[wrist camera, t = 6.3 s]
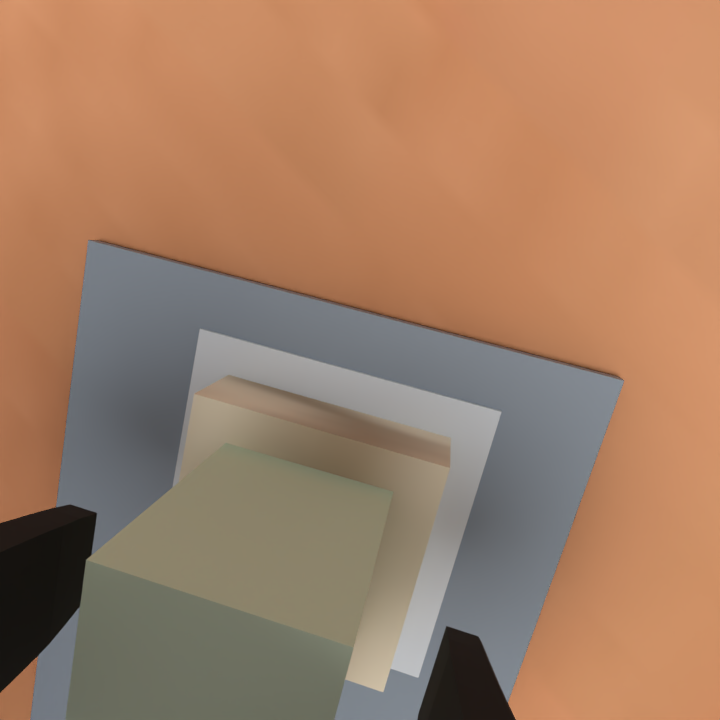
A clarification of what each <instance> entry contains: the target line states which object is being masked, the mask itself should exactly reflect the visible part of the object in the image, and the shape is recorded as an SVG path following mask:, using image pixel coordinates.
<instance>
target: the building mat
mask: <svg viewBox="0 0 720 720" xmlns="http://www.w3.org/2000/svg"><path fill="white" fill-rule="evenodd" d="M227 375H231V376H235V377H238V378H242V379H245V380H249V381H252V382H256V383H259V384H263V385H266V386H270V387H273V388H277V389H280V390H284V391H287V392H291V393H294V394H298V395H302V396H305V397H309V398H312V399H316V400H319V401H323V402H326V403H330V404H333V405H337V406H340V407H344V408H347V409H351V410H354V411H358V412H361V413H365V414H368V415H372V416H375V417H379V418H382V419H386V420H390V421H393V422H397V423H400V424H404V425H407V426H411V427H414V428H418V429H421V430H425V431H428V432H432V433H435V434H439V435H442V436H446V437H449V438H451V452H450V470H449V474H448V477H447V480H446V484H445V487H444V490H443V494H442V497H441V501H440V504H439V507H438V511H437V514H436V517H435V521H434V524H433V527H432V531H431V534H430V537H429V541H428V544H427V548H426V551H425V554H424V558H423V561H422V564H421V568H420V571H419V574H418V578H417V581H416V585H415V588H414V591H413V595H412V598H411V601H410V605H409V608H408V611H407V615H406V618H405V621H404V625H403V628H402V632H401V635H400V638H399V642H398V645H397V648H396V652H395V655H394V658H393V662H392V665H391V669H390V672H389V675H388V679H387V682H386V685H385V689H384V692H381V691H378V690H375V689H372V688H369V687H366V686H363V685H360V684H357V683H354V682H351V681H348V680H345V682H344V685H343V689H342V693H341V697H340V700H339V704H338V708H337V712H336V715H335V719H334V720H417V719H418V713H419V710H420V707H421V704H422V701H423V698H424V694H425V691H426V688H427V685H428V682H429V679H430V676H431V673H432V669H433V666H434V663H435V660H436V657H437V654H438V651H439V647H440V644H441V641H442V638H443V635H444V632H445V629H446V626H448V627H451V628H454V629H457V630H460V631H464V632H467V633H470V634H473V635H476V636H479V638H480V640H481V642H482V644H483V646H484V649H485V651H486V654H487V656H488V658H489V661H490V663H491V666H492V668H493V670H494V673H495V675H496V677H497V680H498V682H499V684H500V687H501V689H502V691H503V693H504V696H505V698H506V700H507V702H508V700H509V698H510V695H511V692H512V689H513V687H514V684H515V681H516V678H517V676H518V673H519V670H520V667H521V664H522V662H523V659H524V656H525V653H526V651H527V648H528V645H529V642H530V640H531V637H532V634H533V631H534V629H535V626H536V623H537V620H538V618H539V615H540V612H541V609H542V607H543V604H544V601H545V598H546V595H547V593H548V590H549V587H550V584H551V582H552V579H553V576H554V573H555V571H556V568H557V565H558V562H559V560H560V557H561V554H562V551H563V549H564V546H565V543H566V540H567V537H568V535H569V532H570V529H571V526H572V524H573V521H574V518H575V515H576V513H577V510H578V507H579V504H580V502H581V499H582V496H583V493H584V491H585V488H586V485H587V482H588V480H589V477H590V474H591V471H592V468H593V466H594V463H595V460H596V457H597V455H598V452H599V449H600V446H601V444H602V441H603V438H604V435H605V433H606V430H607V427H608V424H609V422H610V419H611V416H612V413H613V410H614V408H615V405H616V402H617V399H618V397H619V394H620V391H621V388H622V386H623V383H624V380H623V379H621V378H620V377H617V376H613V375H610V374H606V373H602V372H598V371H594V370H590V369H587V368H583V367H579V366H575V365H571V364H568V363H564V362H560V361H556V360H552V359H548V358H545V357H541V356H537V355H533V354H529V353H526V352H522V351H518V350H514V349H510V348H507V347H503V346H499V345H495V344H491V343H487V342H484V341H480V340H476V339H472V338H468V337H465V336H461V335H457V334H453V333H449V332H445V331H442V330H438V329H434V328H430V327H426V326H423V325H419V324H415V323H411V322H407V321H403V320H400V319H396V318H392V317H388V316H384V315H381V314H377V313H373V312H369V311H365V310H362V309H358V308H354V307H350V306H346V305H342V304H339V303H335V302H331V301H327V300H323V299H320V298H316V297H312V296H308V295H304V294H300V293H297V292H293V291H289V290H285V289H281V288H278V287H274V286H270V285H266V284H262V283H259V282H255V281H251V280H247V279H243V278H239V277H236V276H232V275H228V274H224V273H220V272H217V271H213V270H209V269H205V268H201V267H197V266H194V265H190V264H186V263H182V262H178V261H175V260H171V259H167V258H163V257H159V256H155V255H152V254H148V253H144V252H140V251H136V250H133V249H129V248H125V247H121V246H117V245H114V244H110V243H106V242H102V241H98V240H88V248H87V256H86V264H85V272H84V281H83V289H82V297H81V306H80V314H79V322H78V330H77V339H76V347H75V355H74V363H73V372H72V380H71V388H70V396H69V405H68V413H67V421H66V430H65V438H64V446H63V454H62V463H61V471H60V479H59V487H58V496H57V504H56V507H60V506H65V505H69V504H71V505H74V506H77V507H80V508H83V509H86V510H90V511H93V512H96V513H97V519H96V526H95V533H94V540H93V547H92V555H93V554H94V553H95V552H96V551H97V550H98V549H100V548H101V547H102V546H103V545H104V544H106V543H107V542H108V541H109V540H110V539H112V538H113V537H114V536H115V535H116V534H118V533H119V532H120V531H121V530H122V529H124V528H125V527H126V526H127V525H128V524H130V523H131V522H132V521H133V520H134V519H135V518H137V517H138V516H139V515H140V514H141V513H143V512H144V511H145V510H146V509H147V508H149V507H150V506H151V505H152V504H153V503H155V502H156V501H157V500H158V499H159V498H161V497H162V496H163V495H164V494H165V493H167V492H168V491H169V490H170V489H171V488H172V487H174V486H175V485H176V484H177V483H178V482H179V477H180V471H181V465H182V460H183V454H184V448H185V442H186V437H187V431H188V425H189V420H190V414H191V408H192V403H193V397H194V393H196V392H198V391H200V390H202V389H204V388H205V387H207V386H209V385H211V384H213V383H215V382H216V381H218V380H220V379H222V378H224V377H226V376H227ZM79 611H80V607H79V608H78V609H77V611H76V612H75V613H74V615H73V616H72V617H71V618H70V620H69V621H68V622H67V623H66V625H65V626H64V627H63V628H62V629H61V631H60V632H59V633H58V634H57V635H56V637H55V638H54V639H53V640H52V641H51V643H50V644H49V645H48V646H47V647H46V648H45V649H44V650H43V651H42V652H41V653H40V654H39V655H38V661H37V669H36V677H35V686H34V694H33V702H32V711H31V719H30V720H65V718H66V711H67V703H68V695H69V688H70V680H71V672H72V665H73V657H74V649H75V641H76V634H77V626H78V618H79Z"/></svg>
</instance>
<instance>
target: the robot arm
mask: <svg viewBox="0 0 720 720" xmlns="http://www.w3.org/2000/svg"><path fill="white" fill-rule="evenodd" d="M96 519H97V513H96V512H93V511H90V510H86V509H83V508H80V507H77V506H74V505H71V504H69V505H65V506H60V507H56V508H52V509H48V510H44V511H41V512H37V513H34V514H30V515H27V516H23V517H20V518H17V519H13V520H10V521H6V522H3V523H0V692H1V691H2V690H3V689H4V688H5V687H6V686H7V685H9V684H10V683H11V682H12V681H13V680H14V679H15V678H16V677H17V676H18V675H19V674H20V673H21V672H22V671H23V670H24V669H25V668H26V667H27V666H28V665H29V664H30V663H31V662H32V661H33V660H34V659H35V658H36V657H37V656H38V655H39V654H40V653H41V652H42V651H43V650H44V649H45V648H46V647H47V646H48V645H49V644H50V643H51V641H52V640H53V639H54V638H55V637H56V635H57V634H58V633H59V632H60V631H61V629H62V628H63V627H64V626H65V625H66V623H67V622H68V621H69V620H70V618H71V617H72V616H73V615H74V613H75V612H76V611H77V609H78V608H79V607H80V603H81V595H82V588H83V580H84V572H85V565H86V560H87V559H88V558H89V557H90V556H91V555H92V547H93V540H94V533H95V526H96ZM417 720H516V719H515V717H514V715H513V713H512V711H511V709H510V707H509V705H508V702H507V700H506V698H505V696H504V693H503V691H502V689H501V687H500V684H499V682H498V680H497V677H496V675H495V673H494V670H493V668H492V666H491V663H490V661H489V658H488V656H487V654H486V651H485V649H484V646H483V644H482V642H481V640H480V638H479V636H476V635H473V634H470V633H467V632H464V631H460V630H457V629H454V628H451V627H448V626H446V629H445V632H444V635H443V638H442V641H441V644H440V647H439V651H438V654H437V657H436V660H435V663H434V666H433V669H432V673H431V676H430V679H429V682H428V685H427V688H426V691H425V694H424V698H423V701H422V704H421V707H420V710H419V713H418V719H417Z"/></svg>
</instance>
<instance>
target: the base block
mask: <svg viewBox="0 0 720 720" xmlns="http://www.w3.org/2000/svg"><path fill="white" fill-rule="evenodd" d="M225 443H228V444H232V445H235V446H238V447H242V448H245V449H249V450H252V451H256V452H259V453H262V454H266V455H269V456H273V457H276V458H280V459H283V460H286V461H290V462H293V463H297V464H300V465H304V466H307V467H311V468H314V469H317V470H321V471H324V472H328V473H331V474H335V475H338V476H341V477H345V478H348V479H352V480H355V481H359V482H362V483H365V484H369V485H372V486H376V487H379V488H383V489H386V490H389V491H393V495H392V499H391V503H390V507H389V511H388V515H387V519H386V523H385V527H384V531H383V534H382V538H381V542H380V546H379V550H378V554H377V558H376V562H375V566H374V570H373V574H372V577H371V581H370V585H369V589H368V593H367V597H366V601H365V605H364V609H363V613H362V617H361V621H360V624H359V628H358V632H357V636H356V640H355V644H354V648H353V652H352V655H351V659H350V663H349V667H348V670H347V674H346V678H345V680H348V681H351V682H354V683H357V684H360V685H363V686H366V687H369V688H372V689H375V690H378V691H381V692H384V689H385V685H386V682H387V679H388V675H389V672H390V669H391V665H392V662H393V658H394V655H395V652H396V648H397V645H398V642H399V638H400V635H401V632H402V628H403V625H404V621H405V618H406V615H407V611H408V608H409V605H410V601H411V598H412V595H413V591H414V588H415V585H416V581H417V578H418V574H419V571H420V568H421V564H422V561H423V558H424V554H425V551H426V548H427V544H428V541H429V537H430V534H431V531H432V527H433V524H434V521H435V517H436V514H437V511H438V507H439V504H440V501H441V497H442V494H443V490H444V487H445V484H446V480H447V477H448V474H449V470H450V452H451V438H449V437H446V436H442V435H439V434H435V433H432V432H428V431H425V430H421V429H418V428H414V427H411V426H407V425H404V424H400V423H397V422H393V421H390V420H386V419H382V418H379V417H375V416H372V415H368V414H365V413H361V412H358V411H354V410H351V409H347V408H344V407H340V406H337V405H333V404H330V403H326V402H323V401H319V400H316V399H312V398H309V397H305V396H302V395H298V394H294V393H291V392H287V391H284V390H280V389H277V388H273V387H270V386H266V385H263V384H259V383H256V382H252V381H249V380H245V379H242V378H238V377H235V376H231V375H227V376H226V377H224V378H222V379H220V380H218V381H216V382H215V383H213V384H211V385H209V386H207V387H205V388H204V389H202V390H200V391H198V392H196V393H194V397H193V403H192V408H191V414H190V420H189V425H188V431H187V437H186V442H185V448H184V454H183V460H182V465H181V471H180V477H179V482H180V481H181V480H182V479H183V478H184V477H186V476H187V475H188V474H189V473H190V472H192V471H193V470H194V469H195V468H196V467H198V466H199V465H200V464H201V463H202V462H204V461H205V460H206V459H207V458H208V457H209V456H211V455H212V454H213V453H214V452H215V451H217V450H218V449H219V448H220V447H221V446H223V445H224V444H225Z"/></svg>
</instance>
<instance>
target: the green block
mask: <svg viewBox="0 0 720 720" xmlns="http://www.w3.org/2000/svg"><path fill="white" fill-rule="evenodd" d="M392 495H393V491H389V490H386V489H383V488H379V487H376V486H372V485H369V484H365V483H362V482H359V481H355V480H352V479H348V478H345V477H341V476H338V475H335V474H331V473H328V472H324V471H321V470H317V469H314V468H311V467H307V466H304V465H300V464H297V463H293V462H290V461H286V460H283V459H280V458H276V457H273V456H269V455H266V454H262V453H259V452H256V451H252V450H249V449H245V448H242V447H238V446H235V445H232V444H228V443H225V444H224V445H223V446H221V447H220V448H219V449H218V450H217V451H215V452H214V453H213V454H212V455H211V456H209V457H208V458H207V459H206V460H205V461H204V462H202V463H201V464H200V465H199V466H198V467H196V468H195V469H194V470H193V471H192V472H190V473H189V474H188V475H187V476H186V477H184V478H183V479H182V480H181V481H180V482H178V483H177V484H176V485H175V486H174V487H172V488H171V489H170V490H169V491H168V492H167V493H165V494H164V495H163V496H162V497H161V498H159V499H158V500H157V501H156V502H155V503H153V504H152V505H151V506H150V507H149V508H147V509H146V510H145V511H144V512H143V513H141V514H140V515H139V516H138V517H137V518H135V519H134V520H133V521H132V522H131V523H130V524H128V525H127V526H126V527H125V528H124V529H122V530H121V531H120V532H119V533H118V534H116V535H115V536H114V537H113V538H112V539H110V540H109V541H108V542H107V543H106V544H104V545H103V546H102V547H101V548H100V549H98V550H97V551H96V552H95V553H94V554H93V555H91V556H90V557H89V558H88V559H87V560H86V565H85V572H84V580H83V588H82V595H81V603H80V611H79V618H78V626H77V634H76V641H75V649H74V657H73V665H72V672H71V680H70V688H69V695H68V703H67V711H66V718H65V720H334V719H335V715H336V712H337V708H338V704H339V700H340V697H341V693H342V689H343V685H344V682H345V678H346V674H347V670H348V667H349V663H350V659H351V655H352V652H353V648H354V644H355V640H356V636H357V632H358V628H359V624H360V621H361V617H362V613H363V609H364V605H365V601H366V597H367V593H368V589H369V585H370V581H371V577H372V574H373V570H374V566H375V562H376V558H377V554H378V550H379V546H380V542H381V538H382V534H383V531H384V527H385V523H386V519H387V515H388V511H389V507H390V503H391V499H392Z"/></svg>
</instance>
